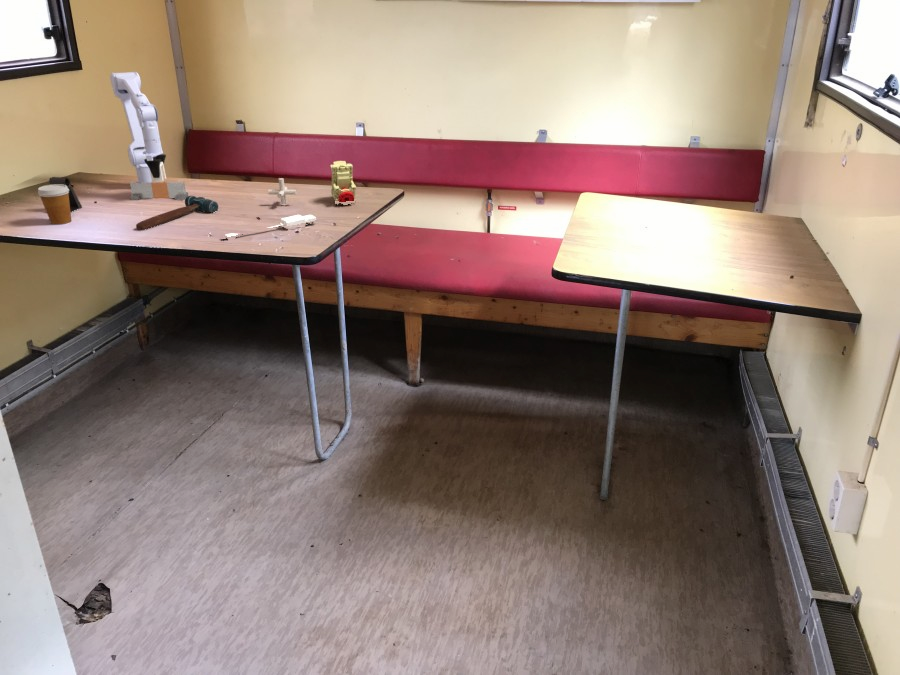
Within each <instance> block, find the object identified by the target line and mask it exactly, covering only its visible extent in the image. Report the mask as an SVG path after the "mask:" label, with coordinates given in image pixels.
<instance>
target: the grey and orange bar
mask: <svg viewBox="0 0 900 675" xmlns="http://www.w3.org/2000/svg"><path fill="white" fill-rule="evenodd" d="M129 185H130V188H131V189H130V191H131V195H130V200H131V201H140V199H153V198H175V199H174V200H175V201H185V199H186V197H188V196H189V191H187V190H186V185H185V181H163V182H138V181H131V182H130V183H129Z"/></svg>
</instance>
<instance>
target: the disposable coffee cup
mask: <svg viewBox="0 0 900 675" xmlns="http://www.w3.org/2000/svg"><path fill="white" fill-rule="evenodd" d="M68 193H69V189H68V188H67V186H66V185H63V184H54V185H50V184H46V185H42V186H39V187H38V189H37V195H38V196H39V198H40V200H41V202H42V204H43V207H44V209H45V212H46V214H47V216H48V219H49V222H50V224H52V225H65V224H68V223H71V222H72V216H71V213H72V212H70V203H69V194H68Z"/></svg>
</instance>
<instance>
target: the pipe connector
mask: <svg viewBox="0 0 900 675" xmlns="http://www.w3.org/2000/svg"><path fill="white" fill-rule="evenodd" d="M278 185H279V186H278V189H268V190H267V191H268V195H276V196H277V198H278V199H280V204H286V205H287V199H286V198H287V197H286V195H290V196H291V195H297V189H288V187H287V186H285V179H284V178H282V177H281V178H280V177H279V178H278Z"/></svg>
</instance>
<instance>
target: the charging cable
mask: <svg viewBox="0 0 900 675" xmlns="http://www.w3.org/2000/svg"><path fill="white" fill-rule="evenodd" d="M315 220H317V217H316V216H314V215H313V214H307V215H301V214H294V215H291V216H287V217H282V218H280V223H279V224H277V225H273V226H269V227H267V228H273V227H277V228H279V227H278V226H292V225H297V224H301V223H306V222H310V221H315ZM273 229H274V228H273ZM238 234H239V233H236V232H235V233H234V232H230V233H226V234H224V237H225V236H227V237H231V236H236V235H238Z"/></svg>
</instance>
